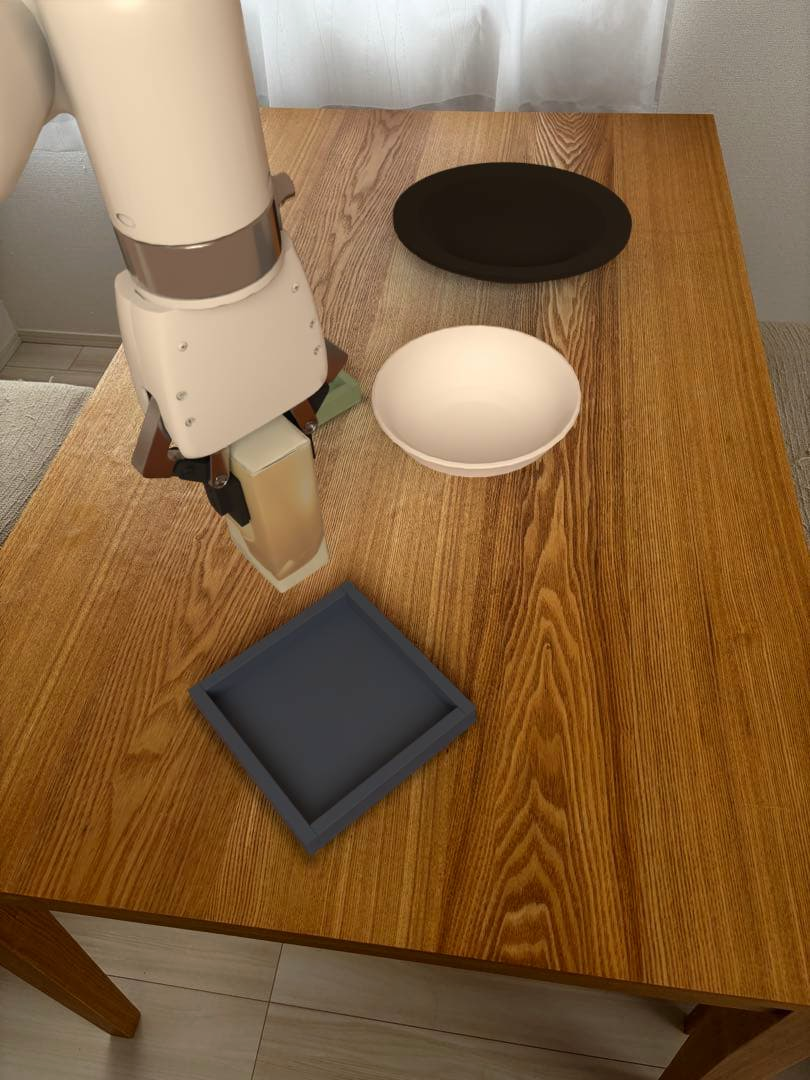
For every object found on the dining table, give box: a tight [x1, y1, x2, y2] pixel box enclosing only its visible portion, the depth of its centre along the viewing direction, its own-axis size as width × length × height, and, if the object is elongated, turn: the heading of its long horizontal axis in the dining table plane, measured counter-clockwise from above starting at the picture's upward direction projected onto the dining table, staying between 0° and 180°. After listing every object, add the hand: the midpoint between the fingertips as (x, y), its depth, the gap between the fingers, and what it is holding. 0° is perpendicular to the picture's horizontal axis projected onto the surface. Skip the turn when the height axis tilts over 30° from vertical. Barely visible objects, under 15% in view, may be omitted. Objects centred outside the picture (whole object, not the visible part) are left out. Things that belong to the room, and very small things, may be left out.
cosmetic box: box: [224, 414, 330, 594], centre depth 56 cm, size 6×4×12 cm
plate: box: [392, 161, 633, 285], centre depth 104 cm, size 28×24×6 cm
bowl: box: [370, 324, 582, 478], centre depth 84 cm, size 20×20×6 cm
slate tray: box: [187, 579, 477, 857], centre depth 68 cm, size 16×16×2 cm
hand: (266, 489), depth 55 cm, fingers closed on cosmetic box, 4 cm apart
